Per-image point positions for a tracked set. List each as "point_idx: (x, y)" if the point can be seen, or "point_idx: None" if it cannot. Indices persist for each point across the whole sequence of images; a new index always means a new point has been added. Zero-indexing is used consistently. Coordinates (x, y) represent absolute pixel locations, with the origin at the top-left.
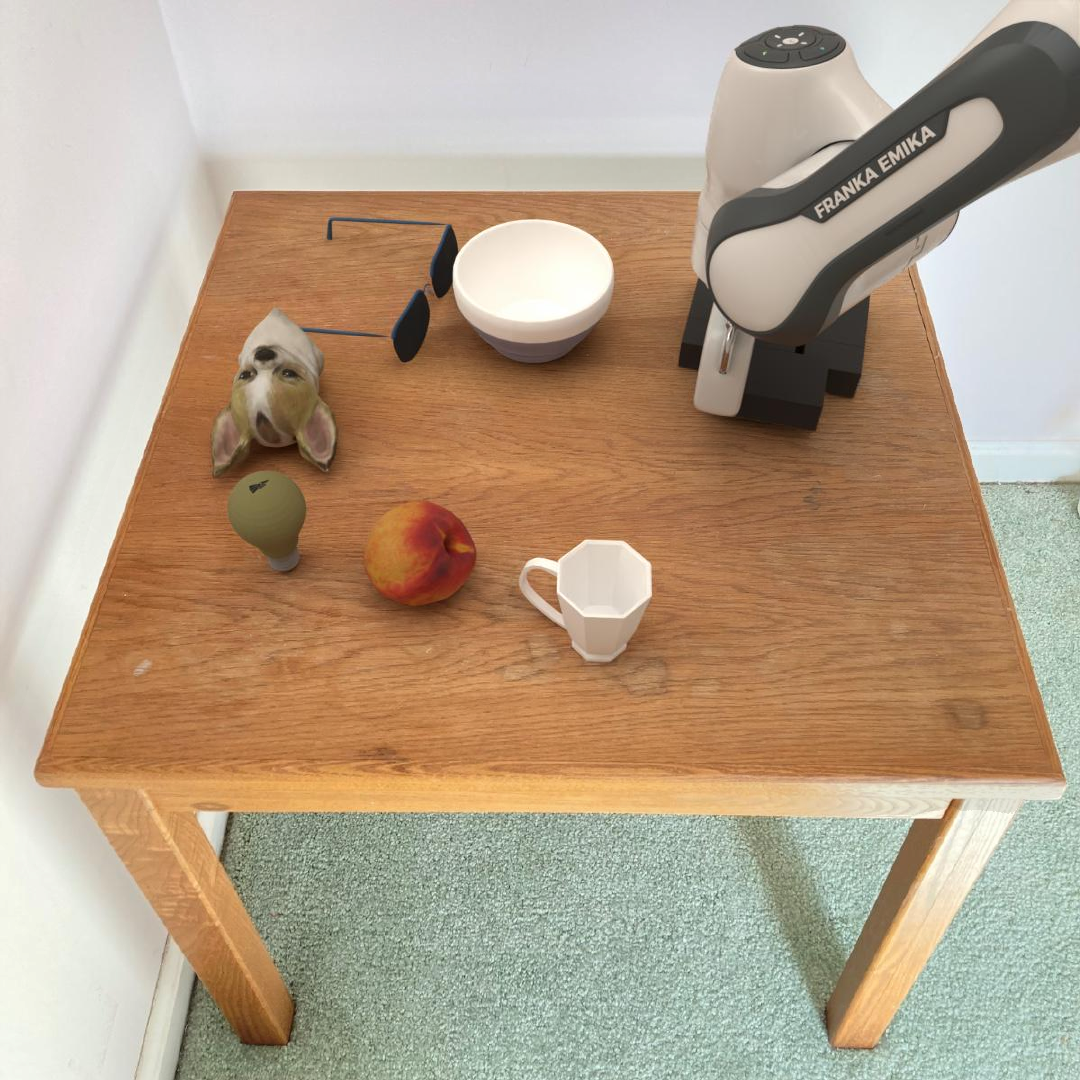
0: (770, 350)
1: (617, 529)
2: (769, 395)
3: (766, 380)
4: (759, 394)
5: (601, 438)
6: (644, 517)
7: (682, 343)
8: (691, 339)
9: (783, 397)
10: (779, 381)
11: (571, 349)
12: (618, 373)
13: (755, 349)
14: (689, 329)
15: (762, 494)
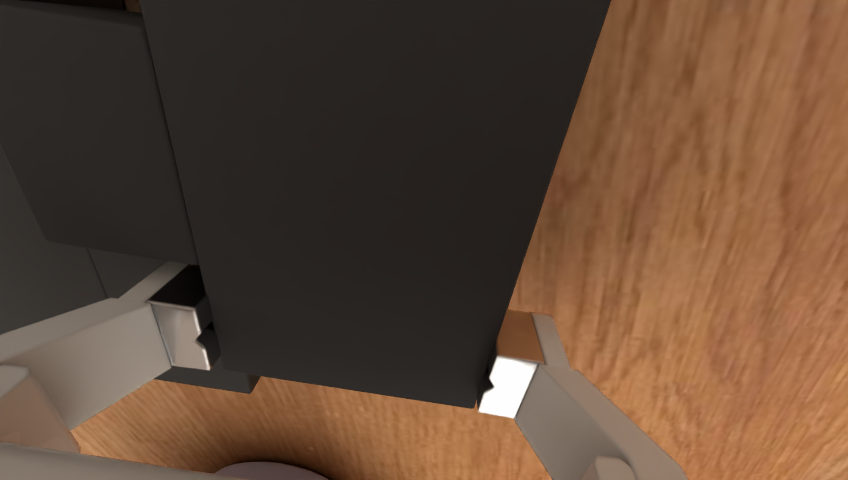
0: (192, 176)
1: (772, 424)
2: (528, 192)
3: (420, 204)
4: (523, 240)
5: (522, 438)
6: (757, 388)
7: (252, 388)
8: (228, 374)
9: (551, 116)
10: (415, 134)
11: (310, 472)
12: (344, 414)
13: (216, 243)
14: (189, 376)
15: (786, 128)
